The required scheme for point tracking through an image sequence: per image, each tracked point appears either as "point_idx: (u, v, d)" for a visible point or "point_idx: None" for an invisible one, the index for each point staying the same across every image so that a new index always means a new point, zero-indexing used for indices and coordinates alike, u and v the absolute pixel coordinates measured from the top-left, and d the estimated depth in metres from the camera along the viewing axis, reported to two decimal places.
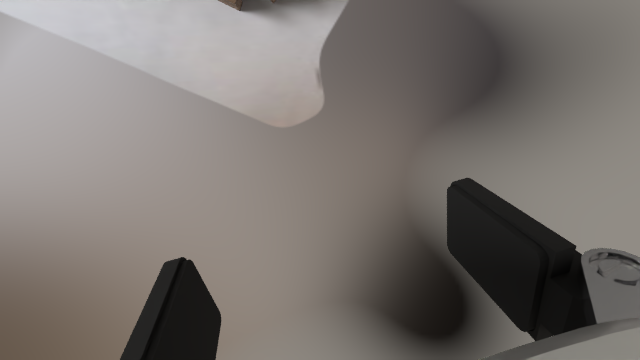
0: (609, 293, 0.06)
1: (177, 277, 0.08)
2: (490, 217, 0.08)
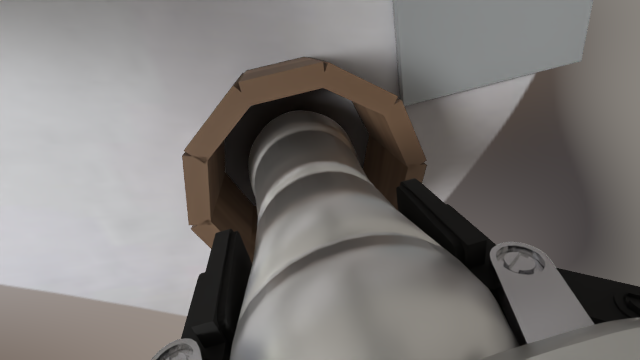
0: (518, 286, 0.06)
1: (230, 244, 0.09)
2: (424, 214, 0.09)
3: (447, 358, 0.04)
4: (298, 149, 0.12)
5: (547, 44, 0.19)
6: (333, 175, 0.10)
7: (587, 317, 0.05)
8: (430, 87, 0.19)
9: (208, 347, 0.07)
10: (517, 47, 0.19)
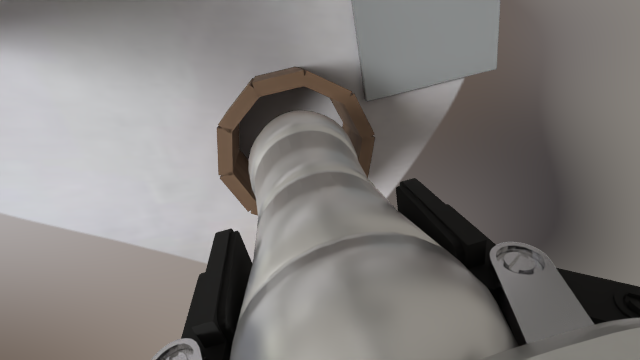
0: (518, 286, 0.06)
1: (230, 244, 0.09)
2: (424, 214, 0.09)
3: (446, 357, 0.04)
4: (299, 149, 0.12)
5: (469, 57, 0.26)
6: (333, 175, 0.10)
7: (587, 317, 0.05)
8: (385, 88, 0.26)
9: (208, 347, 0.07)
10: (447, 59, 0.26)
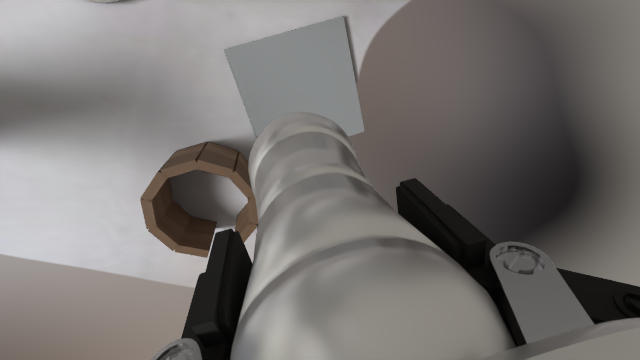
0: (518, 286, 0.06)
1: (230, 244, 0.09)
2: (424, 214, 0.09)
3: None
4: (298, 151, 0.12)
5: (340, 125, 0.35)
6: (333, 177, 0.10)
7: (587, 317, 0.05)
8: None
9: (208, 347, 0.07)
10: None
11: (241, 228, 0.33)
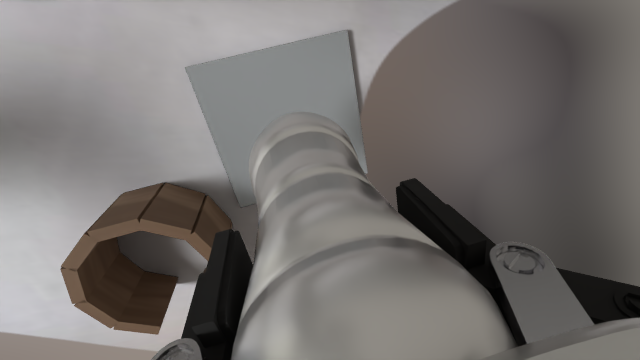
0: (518, 286, 0.06)
1: (230, 244, 0.09)
2: (424, 214, 0.09)
3: None
4: (299, 151, 0.12)
5: None
6: (334, 177, 0.10)
7: (587, 317, 0.05)
8: None
9: (208, 347, 0.07)
10: None
11: None
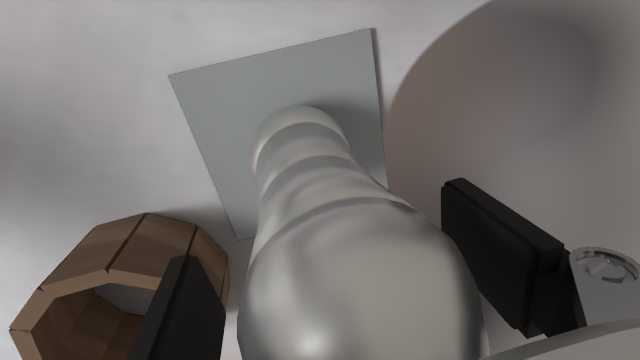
0: (597, 291, 0.06)
1: (183, 273, 0.08)
2: (482, 216, 0.08)
3: (412, 278, 0.05)
4: (296, 138, 0.13)
5: None
6: (327, 158, 0.11)
7: None
8: None
9: None
10: None
11: None
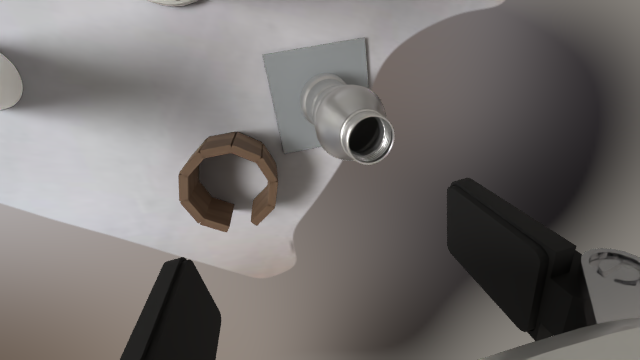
0: (609, 293, 0.06)
1: (177, 277, 0.08)
2: (490, 217, 0.08)
3: (364, 95, 0.23)
4: (328, 82, 0.31)
5: None
6: None
7: None
8: (296, 146, 0.40)
9: None
10: None
11: (259, 209, 0.38)
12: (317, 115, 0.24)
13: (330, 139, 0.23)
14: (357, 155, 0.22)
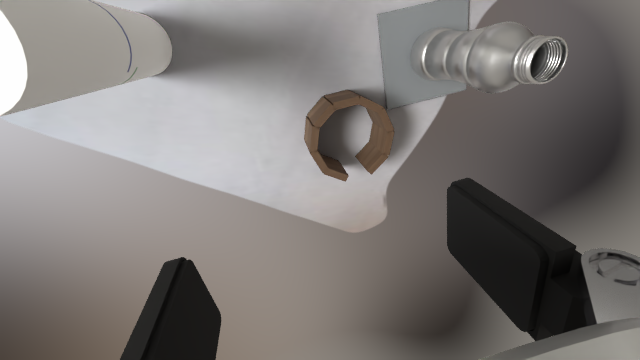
0: (609, 293, 0.06)
1: (177, 277, 0.08)
2: (490, 217, 0.08)
3: (524, 28, 0.26)
4: (453, 31, 0.34)
5: (449, 83, 0.44)
6: None
7: None
8: (398, 101, 0.44)
9: None
10: (435, 84, 0.44)
11: (372, 159, 0.42)
12: (475, 51, 0.27)
13: (492, 69, 0.27)
14: None
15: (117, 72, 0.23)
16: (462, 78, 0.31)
